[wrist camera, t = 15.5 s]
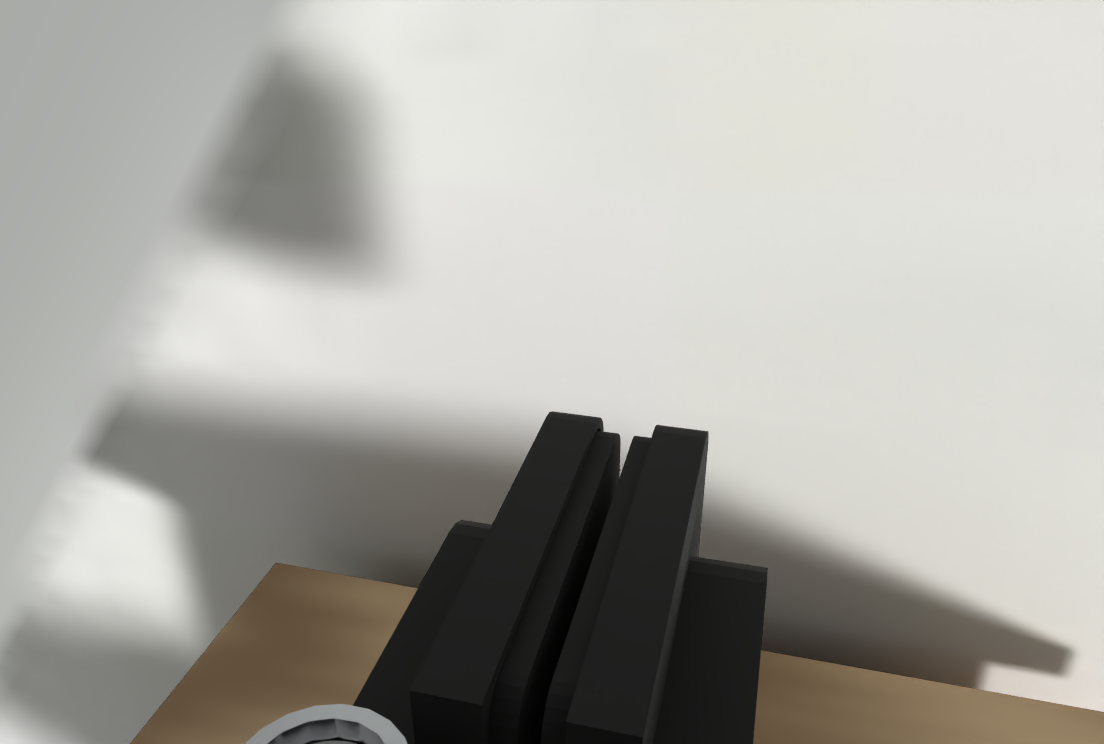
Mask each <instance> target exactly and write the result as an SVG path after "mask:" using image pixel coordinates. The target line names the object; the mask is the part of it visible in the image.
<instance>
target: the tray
mask: <svg viewBox="0 0 1104 744" xmlns="http://www.w3.org/2000/svg"><path fill="white" fill-rule="evenodd" d="M417 589H418V588H413V587H407V586H402V585H396V584H391V583H385V582H380V581H374V580H369V579H363V578H357V577H352V576H346V575H341V574H335V573H330V572H324V571H319V570H313V569H308V568H302V567H296V566H291V565H285V564H280V563H275V565H274V566H273V567H272V568H271V570H270V571H269V572H268V573H267V575H266V576H265V577H264V578H263V580H262V581H261V582H260V583H259V584H258V586H257V587H256V588H255V589H254V591H253V592H252V593H251V594H250V596H249V597H248V598H247V599H246V601H245V602H244V603H243V604H242V606H241V607H240V608H239V609H238V611H237V612H236V613H235V614H234V616H233V617H232V618H231V619H230V620H229V622H228V623H227V624H226V625H225V627H224V628H223V629H222V630H221V632H220V633H219V634H218V635H217V637H216V638H215V639H214V640H213V642H212V643H211V644H210V645H209V647H208V648H207V649H206V650H205V652H204V653H203V654H202V655H201V656H200V658H199V659H198V660H197V661H196V663H195V664H194V665H193V666H192V668H191V669H190V670H189V671H188V673H187V674H186V675H185V676H184V678H183V679H182V680H181V681H180V683H179V684H178V685H177V686H176V688H175V689H174V690H173V691H172V692H171V694H170V695H169V696H168V697H167V699H166V700H165V701H164V702H163V704H162V705H161V706H160V707H159V709H158V710H157V711H156V712H155V714H154V715H153V716H152V717H151V719H150V720H149V721H148V722H147V724H146V725H145V726H144V727H143V728H142V730H141V731H140V732H139V733H138V735H137V736H136V737H135V738H134V740H133V741H132V742H131V743H130V744H245V743H246V742H247V741H248V740H249V739H251V738H252V737H253V736H254V735H255V734H256V733H257V732H258V731H259V730H260V729H262V728H263V727H265V726H267V725H269V724H270V723H272V722H274V721H276V720H278V719H279V718H281V717H283V716H285V715H286V714H289V713H292V712H295V711H299V710H302V709H306V708H309V707H312V706H316V705H333V704H346V705H351V706H353V704H354V702H355V700H356V698H357V697H358V695H359V693H360V691H361V689H362V688H363V686H364V684H365V682H366V681H367V679H368V677H369V675H370V673H371V672H372V670H373V668H374V666H375V664H376V663H377V661H378V659H379V657H380V655H381V654H382V652H383V650H384V648H385V646H386V645H387V643H388V641H389V639H390V638H391V636H392V634H393V632H394V630H395V629H396V627H397V625H398V623H399V621H400V620H401V618H402V616H403V614H404V612H405V611H406V609H407V607H408V605H409V604H410V602H411V600H412V598H413V596H414V595H415V593H416V591H417ZM753 744H1104V712H1100V711H1095V710H1089V709H1084V708H1078V707H1073V706H1067V705H1062V704H1056V703H1050V702H1045V701H1039V700H1034V699H1028V698H1023V697H1017V696H1012V695H1006V694H1001V693H995V692H989V691H984V690H978V689H973V688H967V687H962V686H956V685H951V684H945V683H940V682H934V681H928V680H923V679H917V678H912V677H906V676H901V675H895V674H890V673H884V672H879V671H873V670H867V669H862V668H856V667H851V666H845V665H840V664H834V663H829V662H823V661H818V660H812V659H806V658H801V657H795V656H790V655H784V654H779V653H773V652H768V651H762V650H761V657H760V669H759V680H758V692H757V704H756V716H755V728H754V739H753Z"/></svg>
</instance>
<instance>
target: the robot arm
mask: <svg viewBox="0 0 1104 744" xmlns="http://www.w3.org/2000/svg"><path fill="white" fill-rule="evenodd" d="M707 451H708V431H700V430H693V429H685V428H677V427H669V426H661V425H656V426H655V429H654V432H653V435H652V438H648V437H640V436H634V437H633V440H632V443H631V446H630V449H629V452H628V455H627V458H626V461H625V463H624V466H623V469H622V472H621V475H620V478H619V471H620V435H619V434H617V433H609V432H603V421H602V419H601V418H599V417H591V416H583V415H575V414H568V413H560V412H549V414H548V415H547V417H546V419H545V421H544V423H543V425H542V427H541V429H540V431H539V433H538V435H537V437H536V439H535V441H534V443H533V445H532V447H531V449H530V451H529V453H528V455H527V457H526V459H525V461H524V463H523V465H522V467H521V469H520V471H519V473H518V475H517V477H516V479H515V481H514V483H513V485H512V487H511V489H510V491H509V492H508V494H507V496H506V498H505V500H504V502H503V504H502V506H501V508H500V510H499V512H498V514H497V516H496V518H495V520H494V522H493V524H492V525H489V524H483V523H477V522H470V521H464V520H461V521H459V522H457V523H456V524H455V525H454V527H453V528H452V529H451V531H450V532H449V534H448V536H447V537H446V539H445V541H444V543H443V544H442V546H441V548H440V550H439V552H438V553H437V555H436V557H435V559H434V561H433V562H432V564H431V566H430V568H429V570H428V571H427V573H426V575H425V577H424V578H423V580H422V582H421V584H420V586H419V587H418V589H417V591H416V593H415V595H414V596H413V598H412V600H411V602H410V604H409V605H408V607H407V609H406V611H405V612H404V614H403V616H402V618H401V620H400V621H399V623H398V625H397V627H396V629H395V630H394V632H393V634H392V636H391V638H390V639H389V641H388V643H387V645H386V646H385V648H384V650H383V652H382V654H381V655H380V657H379V659H378V661H377V663H376V664H375V666H374V668H373V670H372V672H371V673H370V675H369V677H368V679H367V681H366V682H365V684H364V686H363V688H362V689H361V691H360V693H359V695H358V697H357V698H356V700H355V702H354V704H353V706H351V705H346V704H333V705H316V706H312V707H309V708H306V709H302V710H299V711H295V712H292V713H289V714H286V715H285V716H283V717H281V718H279V719H278V720H276V721H274V722H272V723H270V724H269V725H267V726H265V727H263V728H262V729H260V730H259V731H258V732H257V733H256V734H255V735H254V736H253V737H252V738H251V739H249V740H248V741H247V742H246V743H245V744H753V739H754V728H755V716H756V704H757V692H758V680H759V669H760V657H761V645H762V633H763V621H764V610H765V598H766V586H767V573H768V568H763V567H757V566H750V565H744V564H737V563H731V562H725V561H718V560H712V559H706V558H699V557H698V552H699V541H700V530H701V518H702V507H703V496H704V485H705V473H706V462H707Z"/></svg>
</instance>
